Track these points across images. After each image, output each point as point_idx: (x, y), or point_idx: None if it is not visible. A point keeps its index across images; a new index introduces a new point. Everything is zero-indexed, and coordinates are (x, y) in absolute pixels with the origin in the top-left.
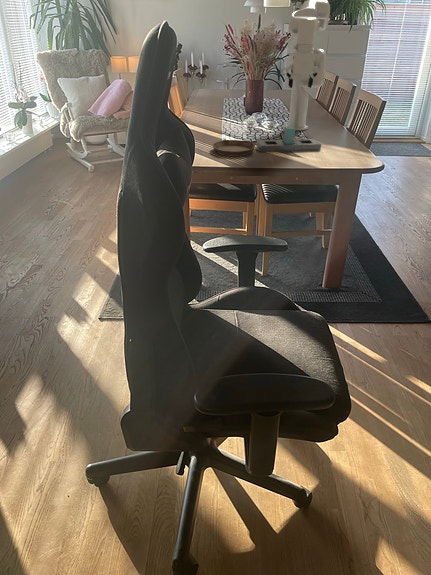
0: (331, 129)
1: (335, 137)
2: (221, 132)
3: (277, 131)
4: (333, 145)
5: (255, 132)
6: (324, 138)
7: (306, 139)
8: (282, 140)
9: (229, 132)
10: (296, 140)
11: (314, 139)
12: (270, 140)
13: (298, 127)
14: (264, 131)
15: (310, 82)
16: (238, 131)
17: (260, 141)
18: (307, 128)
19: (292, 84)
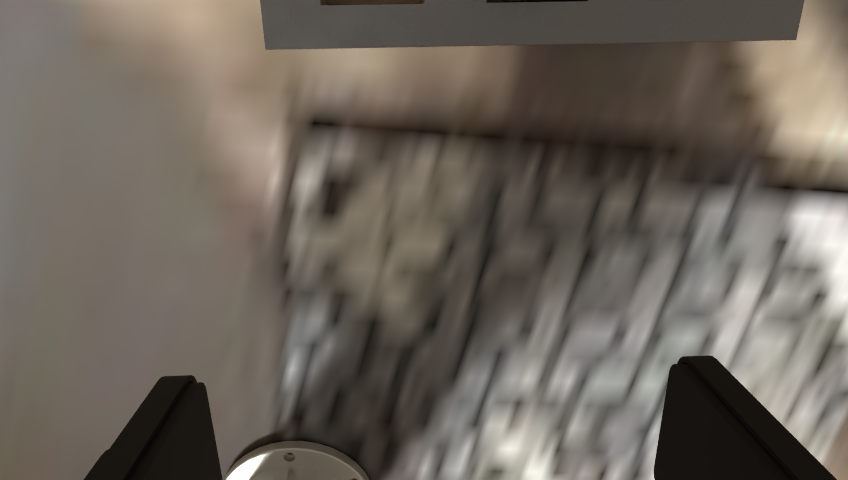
0: (44, 463)
1: (45, 258)
2: (845, 422)
3: (457, 430)
4: (102, 17)
5: (619, 413)
6: (143, 236)
7: (344, 37)
8: (574, 19)
9: (793, 420)
10: (447, 7)
11: (268, 29)
12: (679, 30)
13: (296, 467)
14: (548, 433)
15: (149, 466)
16: None
17: (779, 2)
18: (224, 478)
19: (717, 408)
